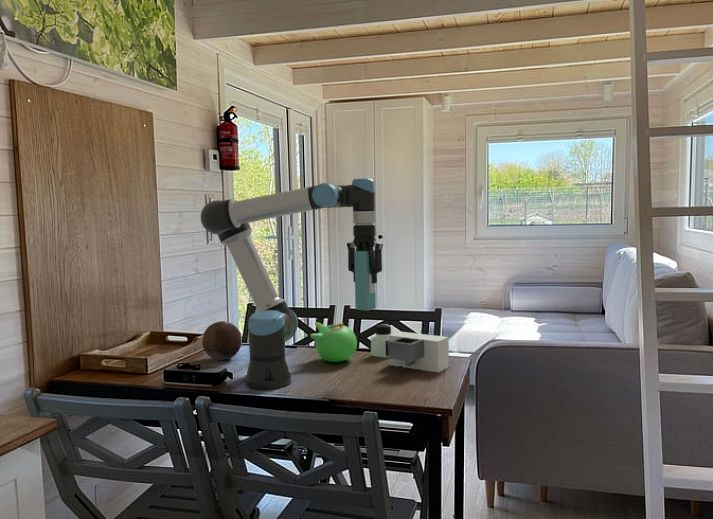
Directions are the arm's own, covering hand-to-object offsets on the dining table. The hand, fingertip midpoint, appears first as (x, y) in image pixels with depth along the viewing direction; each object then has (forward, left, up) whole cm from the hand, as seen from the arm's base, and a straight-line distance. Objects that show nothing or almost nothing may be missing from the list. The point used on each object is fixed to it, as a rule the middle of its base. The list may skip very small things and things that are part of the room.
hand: (365, 292), depth 201 cm
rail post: (0, 0, -6) cm, 6 cm away
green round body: (-21, +9, -29) cm, 37 cm away
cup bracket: (+10, +10, -27) cm, 30 cm away
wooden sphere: (-60, -12, -29) cm, 68 cm away
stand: (+10, +19, -29) cm, 36 cm away
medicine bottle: (-10, +26, -29) cm, 40 cm away
